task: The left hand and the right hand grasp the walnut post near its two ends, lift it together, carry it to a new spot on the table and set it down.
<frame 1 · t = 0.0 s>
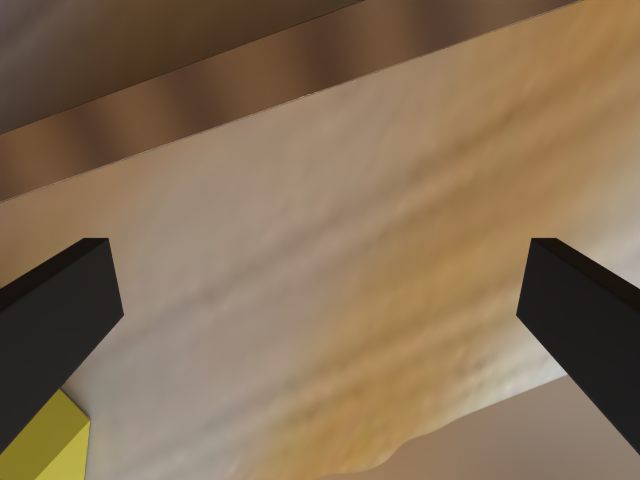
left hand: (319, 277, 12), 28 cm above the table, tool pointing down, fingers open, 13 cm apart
post: (221, 97, 37), on the table
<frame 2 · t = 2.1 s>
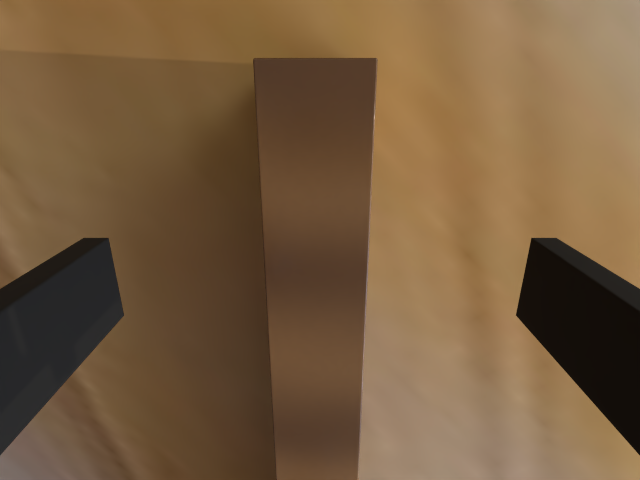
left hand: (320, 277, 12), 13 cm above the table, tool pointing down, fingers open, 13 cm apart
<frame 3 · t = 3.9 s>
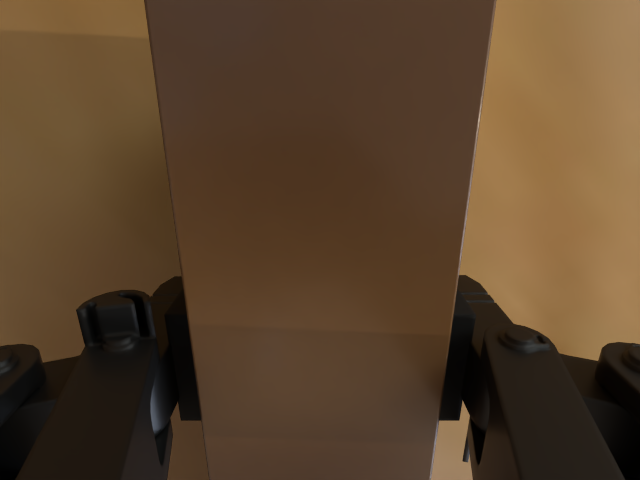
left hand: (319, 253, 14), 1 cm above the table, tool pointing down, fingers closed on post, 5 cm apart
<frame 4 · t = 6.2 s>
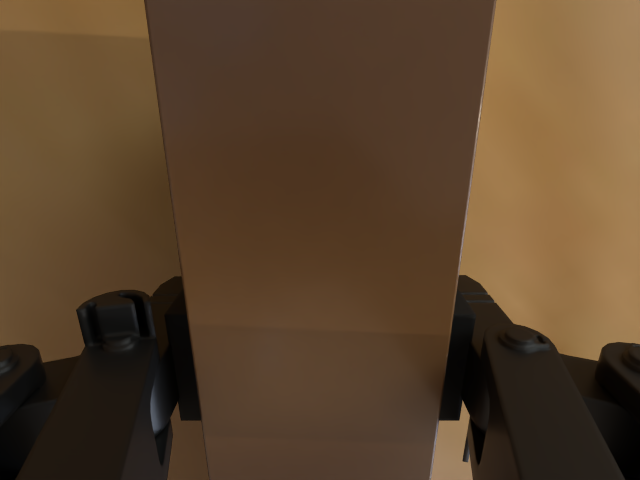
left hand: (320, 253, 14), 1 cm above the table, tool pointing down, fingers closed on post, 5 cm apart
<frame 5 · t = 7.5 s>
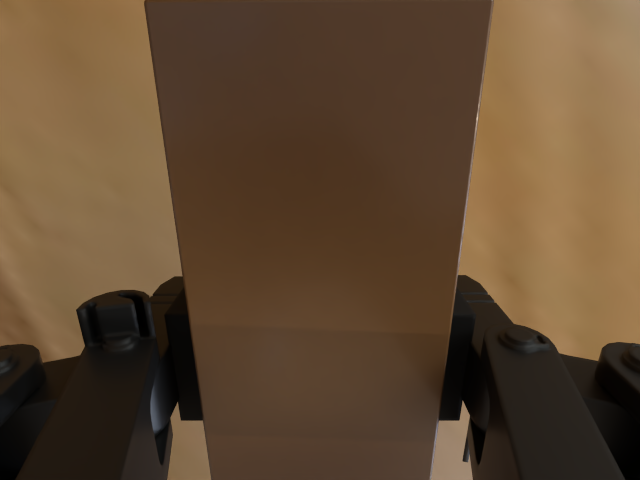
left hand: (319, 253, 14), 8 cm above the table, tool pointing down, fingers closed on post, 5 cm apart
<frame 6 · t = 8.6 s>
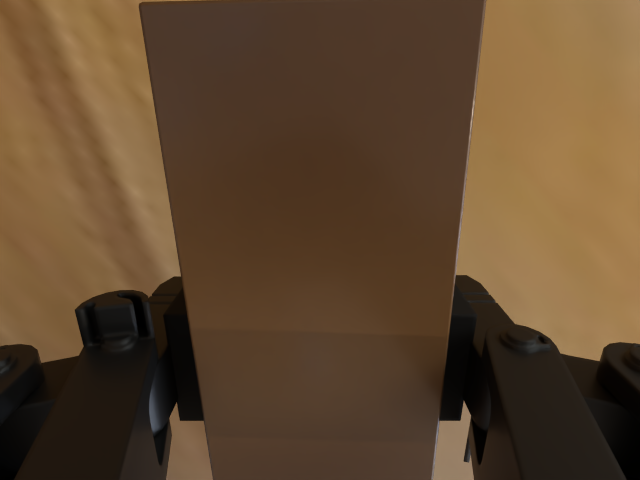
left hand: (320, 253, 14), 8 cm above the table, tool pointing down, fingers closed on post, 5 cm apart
when the left hand's fingers open (2 cm above the table, at t = 11.3 s): post stays where it is, on the table.
when the right hand's fingers open (2 cm above the table, at t = 11.4 s): post stays where it is, on the table.
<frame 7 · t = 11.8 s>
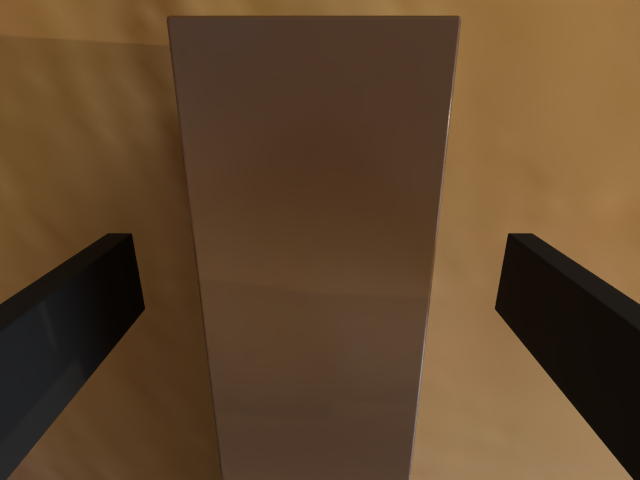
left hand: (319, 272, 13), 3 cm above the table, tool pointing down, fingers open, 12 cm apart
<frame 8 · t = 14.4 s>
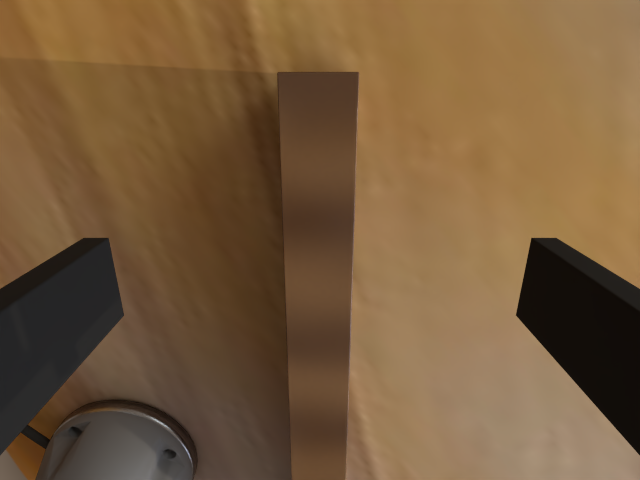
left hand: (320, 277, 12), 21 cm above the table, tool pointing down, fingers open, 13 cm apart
post: (319, 442, 43), on the table
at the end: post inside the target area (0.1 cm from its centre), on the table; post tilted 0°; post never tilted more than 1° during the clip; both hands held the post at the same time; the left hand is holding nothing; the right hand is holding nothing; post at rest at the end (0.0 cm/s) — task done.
